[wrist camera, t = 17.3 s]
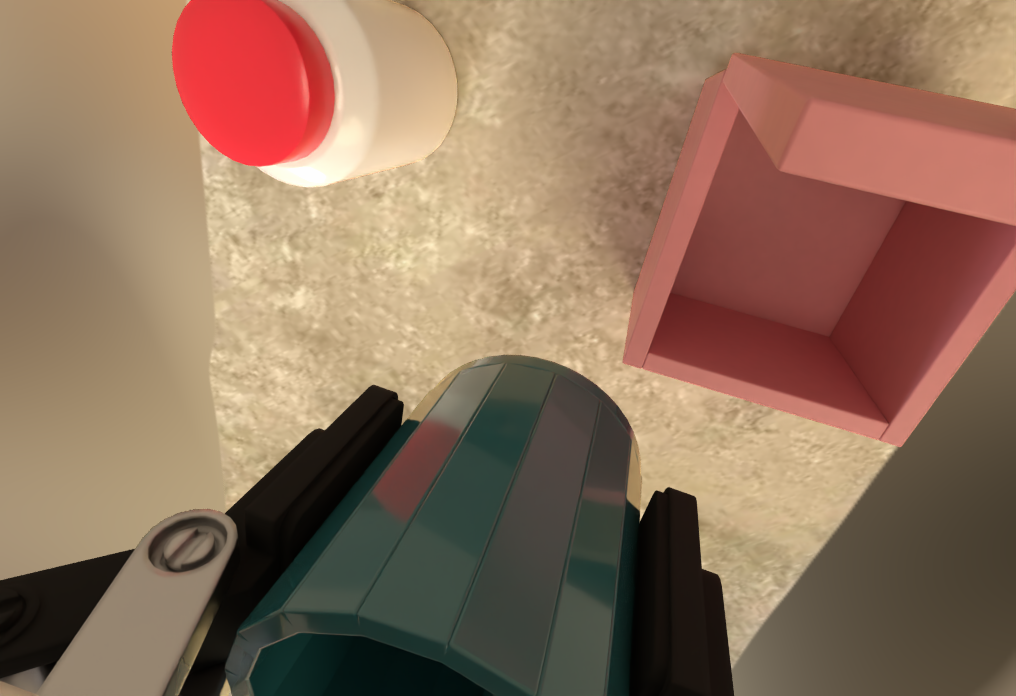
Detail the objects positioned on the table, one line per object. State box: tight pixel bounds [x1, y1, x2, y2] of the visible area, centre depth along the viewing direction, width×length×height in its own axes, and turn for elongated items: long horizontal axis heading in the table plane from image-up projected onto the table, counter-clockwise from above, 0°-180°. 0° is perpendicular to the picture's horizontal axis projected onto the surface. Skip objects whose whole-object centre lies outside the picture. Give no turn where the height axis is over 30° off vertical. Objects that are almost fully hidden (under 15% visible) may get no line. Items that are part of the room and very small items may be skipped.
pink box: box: [623, 69, 1016, 447], centre depth 21 cm, size 11×11×9 cm
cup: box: [224, 355, 642, 696], centre depth 9 cm, size 5×5×6 cm
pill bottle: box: [172, 0, 458, 187], centre depth 22 cm, size 8×8×11 cm
